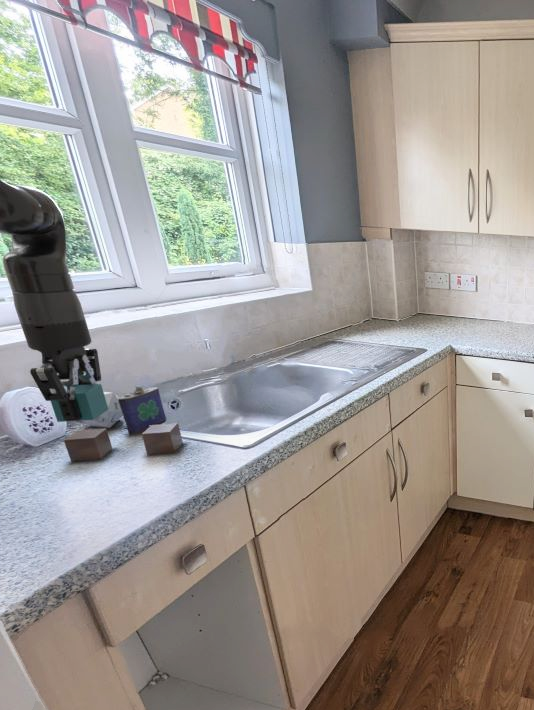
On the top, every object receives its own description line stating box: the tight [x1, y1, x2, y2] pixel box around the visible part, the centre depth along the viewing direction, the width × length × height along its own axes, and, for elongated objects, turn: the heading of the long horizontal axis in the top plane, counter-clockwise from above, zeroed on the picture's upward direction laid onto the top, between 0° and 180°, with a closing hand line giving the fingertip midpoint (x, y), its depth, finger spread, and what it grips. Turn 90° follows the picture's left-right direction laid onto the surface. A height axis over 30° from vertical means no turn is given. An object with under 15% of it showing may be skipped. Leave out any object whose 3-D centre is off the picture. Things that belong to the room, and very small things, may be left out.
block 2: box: [141, 422, 184, 456], centre depth 100 cm, size 5×5×5 cm
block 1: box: [63, 427, 114, 463], centre depth 96 cm, size 5×5×5 cm
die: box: [81, 391, 124, 429], centre depth 109 cm, size 8×9×10 cm
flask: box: [118, 385, 167, 436], centre depth 109 cm, size 9×3×11 cm, turn 171°
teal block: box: [50, 383, 108, 423], centre depth 79 cm, size 5×5×5 cm
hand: (83, 413), depth 80 cm, fingers closed on teal block, 5 cm apart
